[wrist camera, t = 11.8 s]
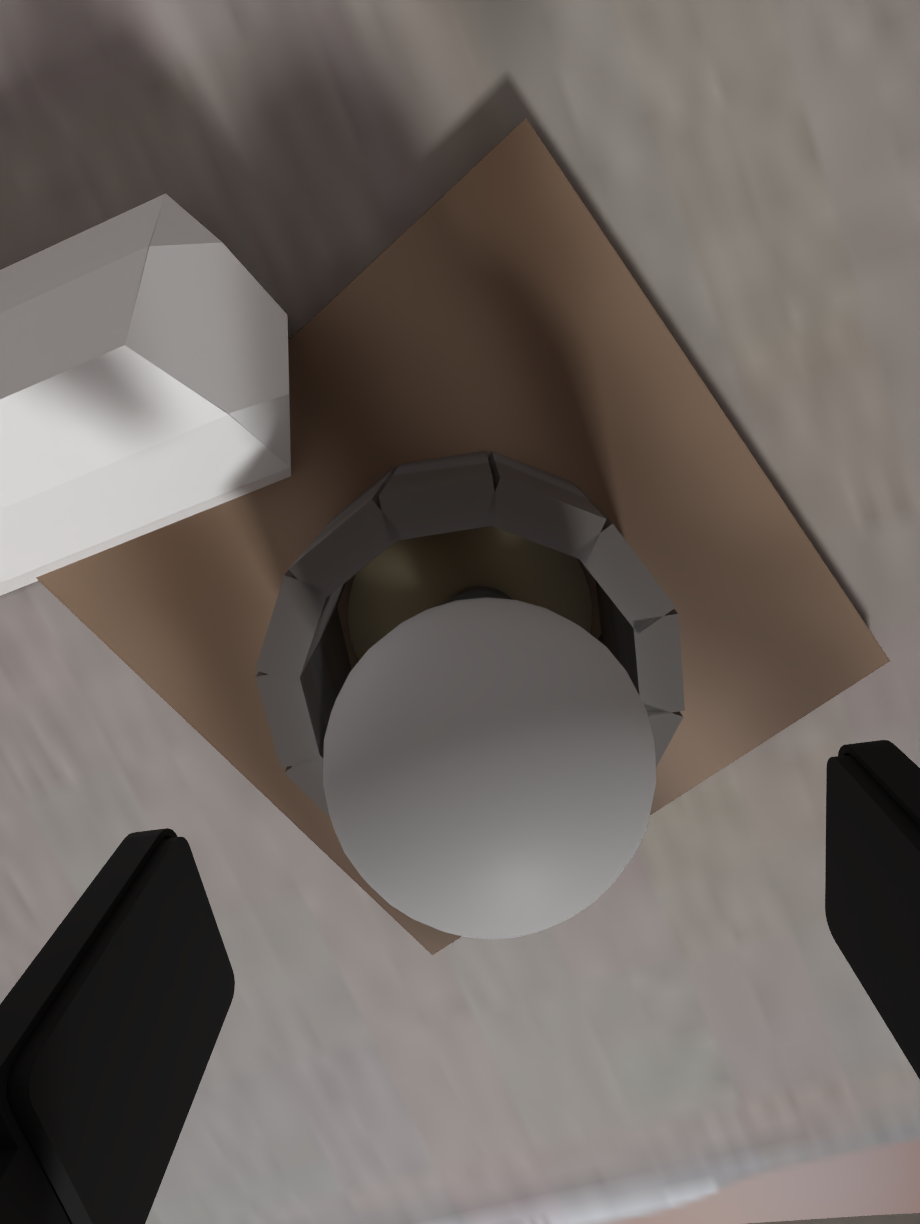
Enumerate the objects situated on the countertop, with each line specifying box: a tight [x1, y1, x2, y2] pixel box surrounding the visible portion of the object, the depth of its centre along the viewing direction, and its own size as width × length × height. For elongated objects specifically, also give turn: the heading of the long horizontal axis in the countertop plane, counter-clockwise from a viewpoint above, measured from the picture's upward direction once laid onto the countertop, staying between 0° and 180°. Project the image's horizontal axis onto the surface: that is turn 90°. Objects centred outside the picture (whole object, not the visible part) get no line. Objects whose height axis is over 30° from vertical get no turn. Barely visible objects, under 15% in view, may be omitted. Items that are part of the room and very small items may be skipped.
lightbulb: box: [323, 586, 656, 939], centre depth 16 cm, size 6×6×11 cm
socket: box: [36, 119, 890, 955], centre depth 19 cm, size 18×18×6 cm
